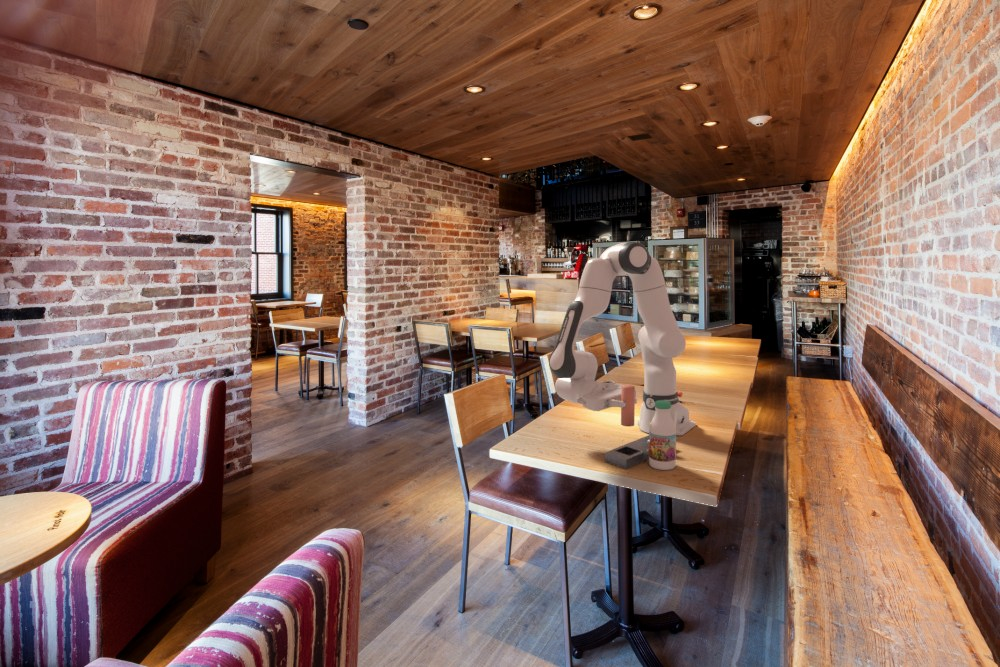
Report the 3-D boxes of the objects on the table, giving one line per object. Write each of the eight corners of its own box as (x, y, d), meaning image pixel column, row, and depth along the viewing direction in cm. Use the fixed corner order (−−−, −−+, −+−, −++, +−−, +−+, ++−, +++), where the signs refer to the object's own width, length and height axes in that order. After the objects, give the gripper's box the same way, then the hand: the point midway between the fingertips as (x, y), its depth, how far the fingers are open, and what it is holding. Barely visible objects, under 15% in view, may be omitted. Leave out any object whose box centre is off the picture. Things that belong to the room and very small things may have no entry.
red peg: (626, 421, 155) (626, 384, 154) (637, 424, 152) (637, 386, 150) (618, 424, 153) (618, 386, 151) (629, 427, 150) (629, 389, 148)
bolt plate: (652, 442, 169) (652, 416, 167) (673, 448, 162) (673, 422, 161) (605, 461, 153) (605, 433, 152) (626, 469, 147) (626, 440, 146)
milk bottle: (648, 459, 154) (649, 397, 151) (674, 461, 152) (675, 399, 149) (648, 469, 146) (649, 404, 144) (676, 472, 144) (677, 406, 142)
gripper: (573, 391, 155) (608, 399, 144) (615, 380, 167) (649, 387, 156) (573, 410, 156) (608, 420, 145) (615, 398, 168) (649, 406, 157)
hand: (630, 403), depth 151 cm, fingers closed on red peg, 4 cm apart
